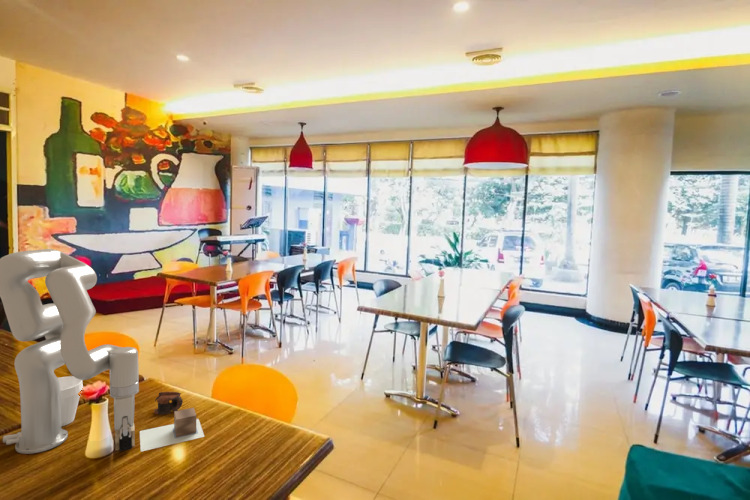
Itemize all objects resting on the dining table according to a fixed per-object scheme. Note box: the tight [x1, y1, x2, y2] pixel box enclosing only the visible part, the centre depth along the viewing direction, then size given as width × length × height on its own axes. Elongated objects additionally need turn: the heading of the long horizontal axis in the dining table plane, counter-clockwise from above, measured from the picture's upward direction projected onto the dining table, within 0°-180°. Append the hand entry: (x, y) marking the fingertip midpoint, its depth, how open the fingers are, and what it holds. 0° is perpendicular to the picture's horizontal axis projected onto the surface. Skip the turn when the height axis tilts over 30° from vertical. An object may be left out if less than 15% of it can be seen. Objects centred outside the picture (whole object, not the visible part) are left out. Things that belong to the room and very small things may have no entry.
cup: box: [57, 375, 84, 427], centre depth 137 cm, size 12×12×14 cm
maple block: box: [114, 422, 136, 451], centre depth 125 cm, size 5×5×6 cm
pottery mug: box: [153, 391, 183, 416], centre depth 148 cm, size 12×10×8 cm
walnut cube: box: [173, 407, 197, 437], centre depth 134 cm, size 6×6×6 cm
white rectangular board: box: [139, 418, 205, 452], centre depth 132 cm, size 18×13×1 cm
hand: (125, 441), depth 125 cm, fingers open, 8 cm apart
